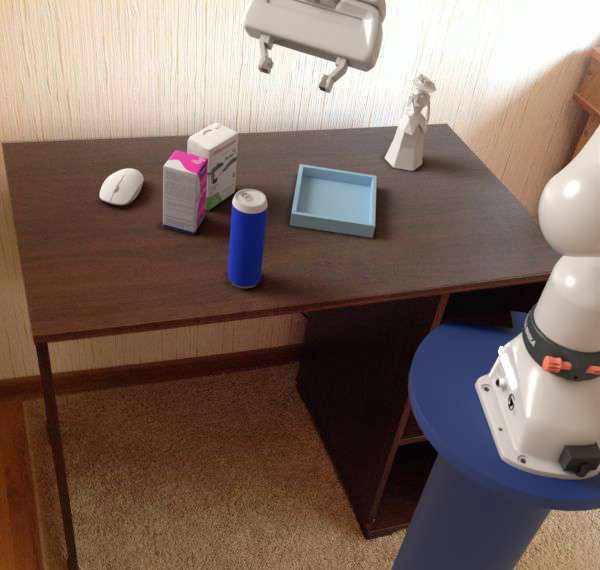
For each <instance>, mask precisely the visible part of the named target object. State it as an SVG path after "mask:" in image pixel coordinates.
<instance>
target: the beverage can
mask: <svg viewBox="0 0 600 570" xmlns="http://www.w3.org/2000/svg"><path fill="white" fill-rule="evenodd" d="M268 206H269V203H268V200H267V196H266V195H265V193H263V192H262V191H261V190H258V189H253V188H244V189H240V190H238V191H237V192H235V194H234V196H233V198H232V200H231V215H230V217H231V218H230V234H229V253H228V268H227V269H228V270H227V277H228V280H229V282H230V283H231V284H232V285H233V286H234V287H237V288H240V289H251V288H254V287H256V285H258V284H259V283H260V281H261V278H262V277H261V276H262V268H263V260H264V259H263V258H264V247H265V238H266V229H267V228H266V227H267V218H268V208H269V207H268Z"/></svg>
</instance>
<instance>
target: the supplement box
mask: <svg viewBox="0 0 600 570" xmlns="http://www.w3.org/2000/svg"><path fill="white" fill-rule="evenodd" d="M162 167H163V168H162V169H163V171H162V172H163V173H162V175H163V176H162V177H163V178H162V181H163V182H162V184H163V186H162V228H166V229H169V230H174V231H178V232H181V233H186V234H189V235H195V234H196V232H197V230H198V228H199V227H200V225H201V224H202V222H203V220H204V219H205V218H206V210H205V206H206V188H207V170H208V158H205V157H201V156H197V155H193V154H189V153H187V152H185V151H182V150H178V149H176V150H175V151H174V152H173V153H172V155H171V156H169V158H168V160H167V161H165V163H164V165H163V166H162Z"/></svg>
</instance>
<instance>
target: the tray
mask: <svg viewBox="0 0 600 570" xmlns="http://www.w3.org/2000/svg"><path fill="white" fill-rule="evenodd" d="M377 178H378V176H377V175H374V174H367V173H361V172H356V171H355V172H354V171H349V170H342V169H335V168H328V167H322V166H315V165H309V164H303V163H299V166H298V172H297V179H296V183H295V190H294V195H293V201H292V207H291V213H290V220H289V226H292V227H298V228H304V229H311V230H318V231H325V232H330V233H337V234H344V235H351V236H357V237H364V238H370V239H373V238H374V233H375V228H376V215H377V213H376V211H377V184H378V183H377V180H378V179H377Z"/></svg>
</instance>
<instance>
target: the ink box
mask: <svg viewBox="0 0 600 570" xmlns="http://www.w3.org/2000/svg"><path fill="white" fill-rule="evenodd" d="M186 141H187V147H186V148H187V151H186V153H189V154H193V155H197V156H201V157H205V158H208V170H207V188H206V206H205V211H207V212H208V211H210V210H212V209H213V208H214V207H216V206H217V205H219V204H220V203H221V202H223V201H224V200H226V199H227V198H229V197H230V196H231V195H233V194H234V193H236V181H237V180H236V179H237V178H236V177H237V163H238V162H237V160H238V146H239V145H238V144H239V131H236V130H234V129H232V128H230V127H227V126H225V125H223V124H222V123H220V122H213V123H212V124H210V125H208V126H207V127H205V128H203V129H201V130H200V131H198V132H196V133H194V134H192V135H190V136H189V138H188V139H187V140H186Z"/></svg>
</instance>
